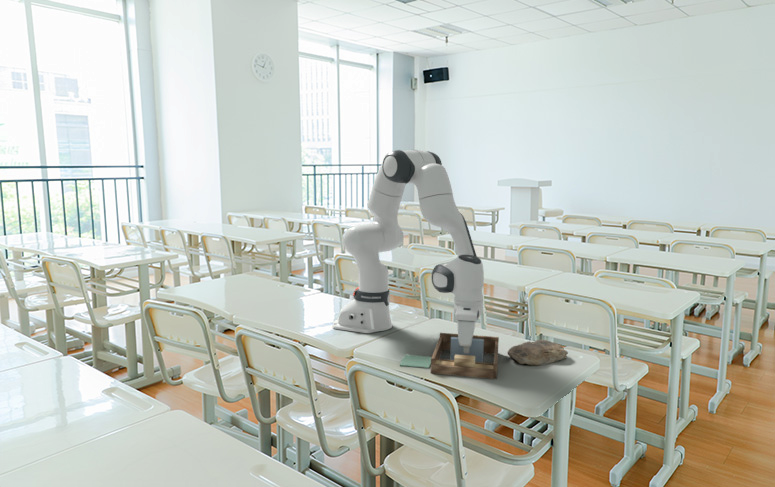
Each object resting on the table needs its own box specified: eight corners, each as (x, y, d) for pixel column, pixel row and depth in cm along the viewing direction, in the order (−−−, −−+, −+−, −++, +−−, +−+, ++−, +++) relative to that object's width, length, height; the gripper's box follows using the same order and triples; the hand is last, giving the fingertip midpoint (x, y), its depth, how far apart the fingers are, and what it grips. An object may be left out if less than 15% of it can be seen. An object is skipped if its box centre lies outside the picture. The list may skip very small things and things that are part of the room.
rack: (430, 373, 160) (431, 355, 159) (439, 348, 181) (440, 332, 181) (496, 379, 156) (497, 360, 155) (498, 353, 177) (498, 337, 176)
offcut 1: (435, 371, 162) (435, 363, 162) (436, 368, 165) (436, 360, 165) (455, 373, 161) (455, 365, 160) (456, 369, 164) (456, 362, 163)
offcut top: (454, 366, 160) (454, 358, 159) (454, 362, 163) (454, 354, 162) (474, 367, 159) (475, 359, 158) (475, 363, 162) (475, 355, 161)
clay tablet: (523, 371, 163) (573, 360, 172) (523, 355, 163) (574, 345, 171) (494, 357, 176) (543, 347, 184) (495, 342, 175) (543, 333, 184)
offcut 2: (472, 375, 159) (472, 367, 159) (472, 371, 162) (473, 363, 162) (493, 377, 158) (493, 369, 158) (493, 373, 161) (493, 365, 161)
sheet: (450, 360, 171) (450, 338, 170) (451, 358, 173) (451, 336, 172) (482, 363, 169) (483, 341, 168) (482, 360, 171) (483, 339, 170)
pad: (399, 365, 166) (399, 364, 166) (405, 355, 174) (405, 354, 174) (429, 368, 164) (429, 367, 164) (433, 358, 172) (433, 356, 172)
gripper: (460, 299, 179) (459, 339, 181) (454, 315, 159) (453, 361, 161) (480, 300, 178) (478, 341, 180) (476, 317, 158) (475, 363, 160)
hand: (466, 350), depth 170 cm, fingers closed on sheet, 2 cm apart
